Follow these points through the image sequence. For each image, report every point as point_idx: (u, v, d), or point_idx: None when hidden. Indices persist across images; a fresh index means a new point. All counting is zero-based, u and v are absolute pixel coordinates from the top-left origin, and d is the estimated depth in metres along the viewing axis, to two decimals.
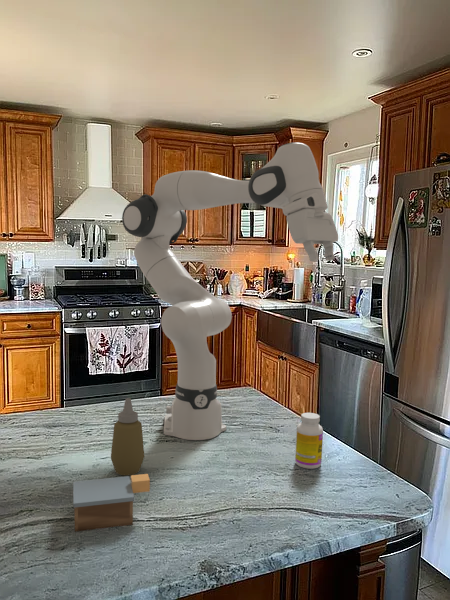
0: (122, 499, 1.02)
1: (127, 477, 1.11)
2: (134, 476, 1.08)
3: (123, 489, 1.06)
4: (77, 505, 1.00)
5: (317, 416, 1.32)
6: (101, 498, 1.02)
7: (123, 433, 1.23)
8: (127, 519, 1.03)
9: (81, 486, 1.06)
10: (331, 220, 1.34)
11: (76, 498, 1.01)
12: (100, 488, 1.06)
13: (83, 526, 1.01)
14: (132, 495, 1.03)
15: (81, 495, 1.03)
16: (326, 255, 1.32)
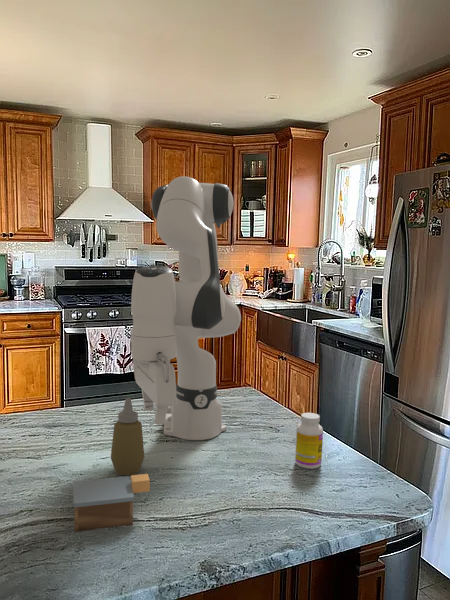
0: (122, 499, 1.02)
1: (127, 477, 1.11)
2: (134, 476, 1.08)
3: (123, 489, 1.06)
4: (77, 505, 1.00)
5: (317, 416, 1.32)
6: (101, 498, 1.02)
7: (123, 433, 1.23)
8: (127, 519, 1.03)
9: (81, 486, 1.06)
10: (154, 377, 0.97)
11: (76, 498, 1.01)
12: (100, 488, 1.06)
13: (83, 526, 1.01)
14: (132, 495, 1.03)
15: (81, 495, 1.03)
16: None
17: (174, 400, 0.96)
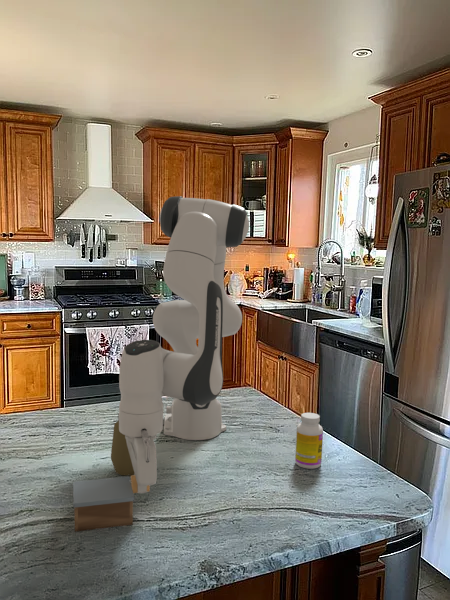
0: (122, 499, 1.02)
1: (127, 477, 1.11)
2: (134, 476, 1.08)
3: (123, 489, 1.06)
4: (77, 505, 1.00)
5: (317, 416, 1.32)
6: (101, 498, 1.02)
7: None
8: (127, 519, 1.03)
9: (81, 486, 1.06)
10: (136, 455, 0.99)
11: (76, 498, 1.01)
12: (100, 488, 1.06)
13: (83, 526, 1.01)
14: (132, 495, 1.03)
15: (81, 495, 1.03)
16: None
17: (154, 480, 0.98)
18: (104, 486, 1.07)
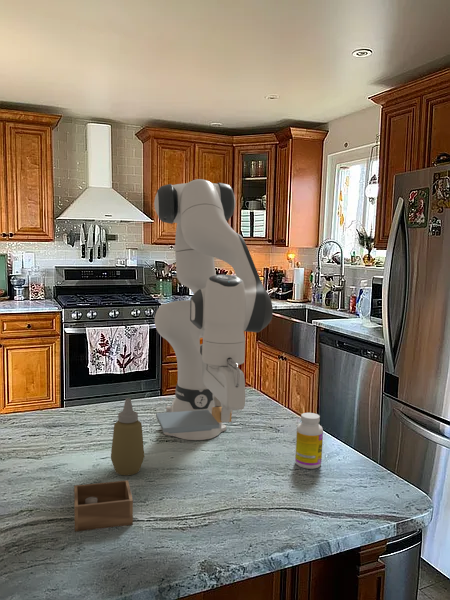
0: (208, 426, 1.05)
1: (206, 410, 1.14)
2: (215, 407, 1.11)
3: (206, 418, 1.09)
4: (167, 430, 1.03)
5: (317, 416, 1.32)
6: (188, 425, 1.05)
7: (123, 433, 1.23)
8: (127, 519, 1.03)
9: (165, 416, 1.10)
10: (225, 381, 1.02)
11: (164, 425, 1.05)
12: (184, 418, 1.09)
13: (83, 526, 1.01)
14: (217, 423, 1.07)
15: (168, 422, 1.06)
16: None
17: (243, 404, 1.01)
18: (187, 416, 1.10)
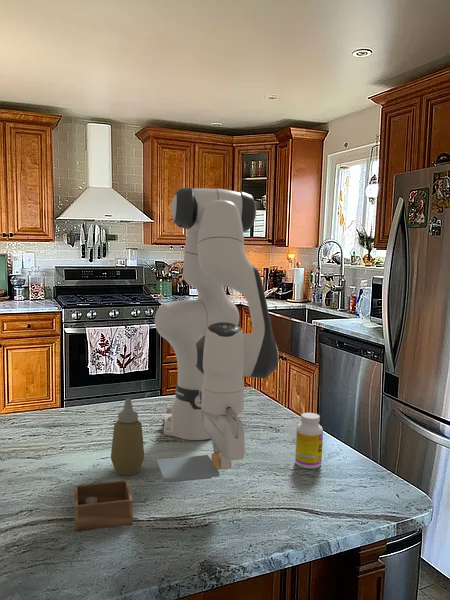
0: (208, 475, 1.06)
1: (206, 456, 1.15)
2: (215, 454, 1.12)
3: (206, 466, 1.10)
4: (167, 480, 1.04)
5: (317, 416, 1.32)
6: (188, 474, 1.06)
7: (123, 433, 1.23)
8: (127, 519, 1.03)
9: (165, 463, 1.11)
10: (224, 432, 1.03)
11: (165, 474, 1.06)
12: (184, 465, 1.10)
13: (83, 526, 1.01)
14: (217, 471, 1.07)
15: (168, 471, 1.07)
16: None
17: (242, 455, 1.02)
18: (187, 463, 1.11)
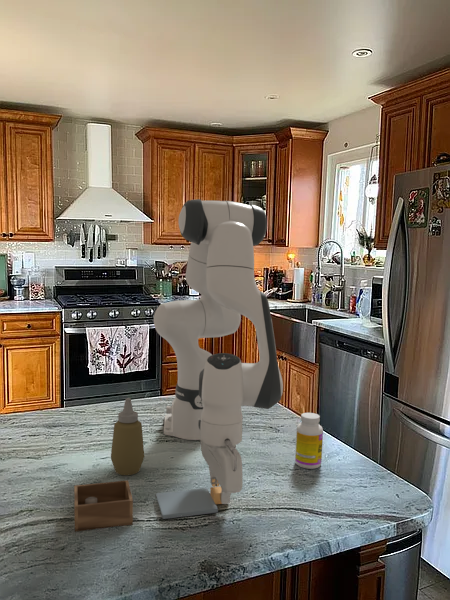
0: (207, 511, 1.07)
1: (205, 489, 1.16)
2: (214, 488, 1.13)
3: (205, 500, 1.11)
4: (166, 516, 1.05)
5: (317, 416, 1.32)
6: (187, 510, 1.07)
7: (123, 433, 1.23)
8: (127, 519, 1.03)
9: (164, 498, 1.12)
10: (223, 464, 1.04)
11: (163, 510, 1.07)
12: (183, 500, 1.11)
13: (83, 526, 1.01)
14: (215, 507, 1.09)
15: (167, 507, 1.08)
16: None
17: (240, 487, 1.03)
18: (186, 498, 1.12)
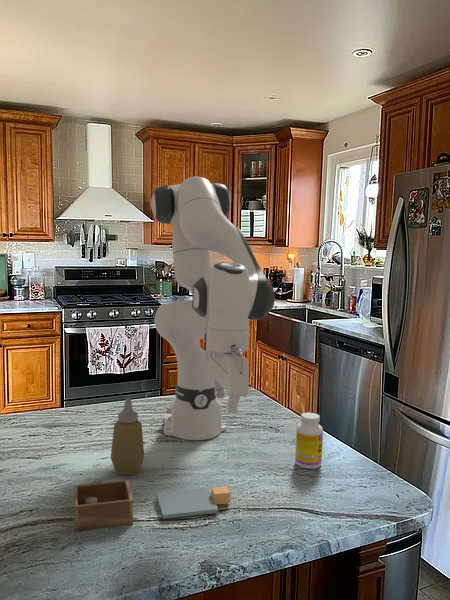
0: (207, 511, 1.07)
1: (206, 489, 1.16)
2: (214, 488, 1.13)
3: (206, 501, 1.11)
4: (166, 516, 1.05)
5: (317, 416, 1.32)
6: (187, 510, 1.07)
7: (123, 433, 1.23)
8: (127, 519, 1.03)
9: (165, 498, 1.12)
10: (229, 368, 1.03)
11: (164, 510, 1.07)
12: (184, 500, 1.11)
13: (83, 526, 1.01)
14: (216, 507, 1.09)
15: (168, 507, 1.08)
16: None
17: (247, 391, 1.02)
18: (187, 498, 1.12)
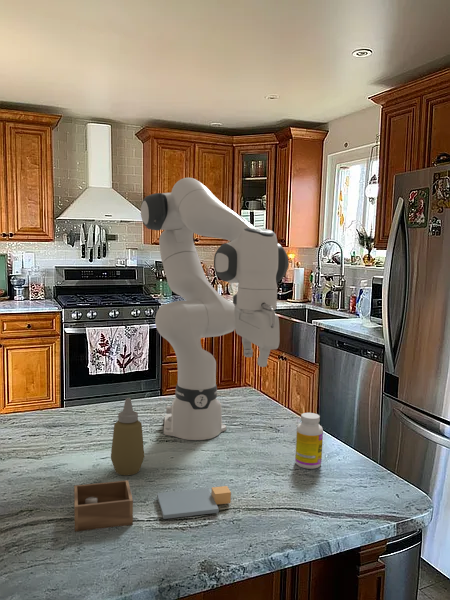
0: (208, 511, 1.07)
1: (206, 489, 1.16)
2: (215, 488, 1.13)
3: (206, 500, 1.11)
4: (167, 516, 1.05)
5: (317, 416, 1.32)
6: (188, 510, 1.07)
7: (123, 433, 1.23)
8: (127, 519, 1.03)
9: (165, 497, 1.12)
10: (260, 323, 1.10)
11: (164, 510, 1.07)
12: (184, 500, 1.11)
13: (83, 526, 1.01)
14: (216, 507, 1.09)
15: (168, 507, 1.08)
16: None
17: (278, 344, 1.09)
18: (187, 498, 1.12)
